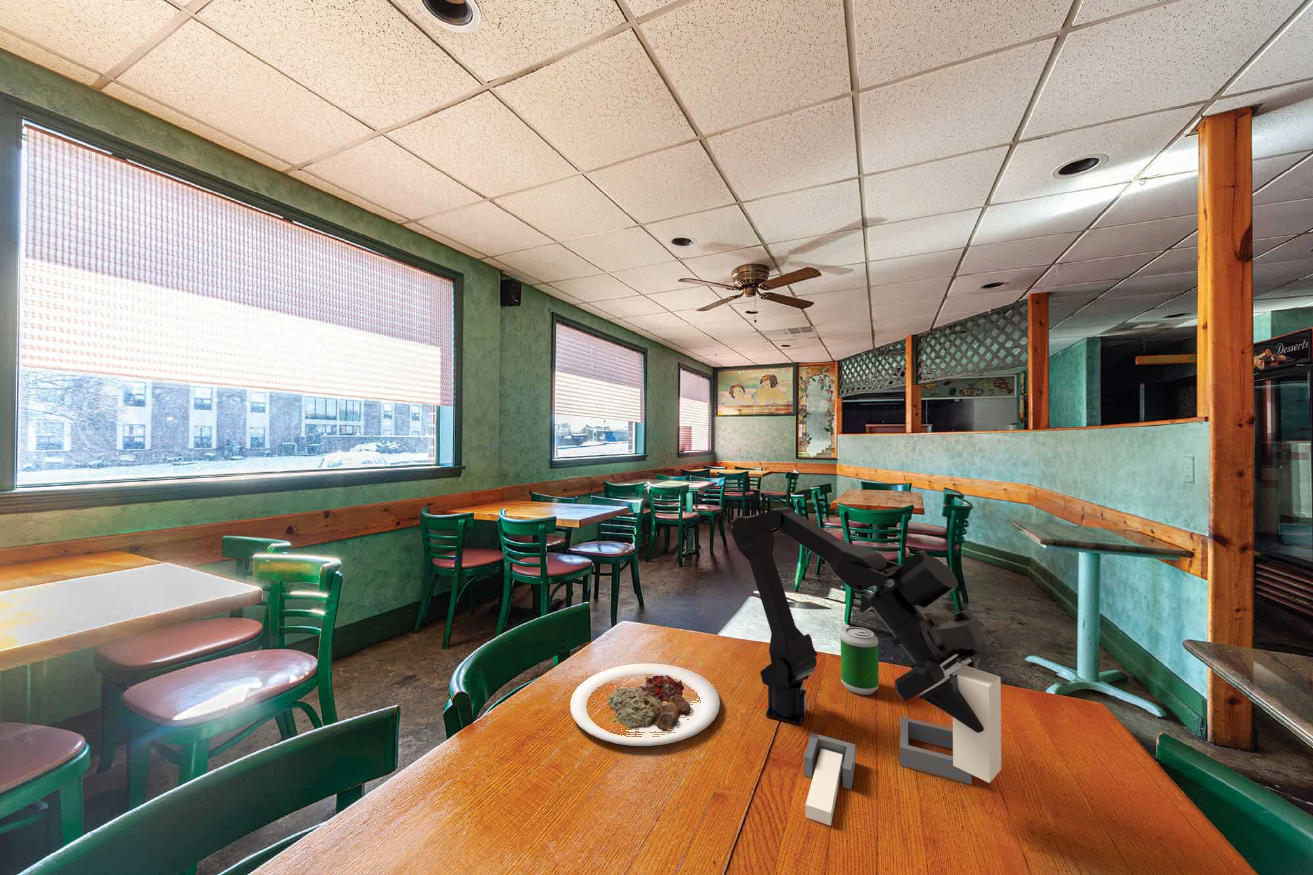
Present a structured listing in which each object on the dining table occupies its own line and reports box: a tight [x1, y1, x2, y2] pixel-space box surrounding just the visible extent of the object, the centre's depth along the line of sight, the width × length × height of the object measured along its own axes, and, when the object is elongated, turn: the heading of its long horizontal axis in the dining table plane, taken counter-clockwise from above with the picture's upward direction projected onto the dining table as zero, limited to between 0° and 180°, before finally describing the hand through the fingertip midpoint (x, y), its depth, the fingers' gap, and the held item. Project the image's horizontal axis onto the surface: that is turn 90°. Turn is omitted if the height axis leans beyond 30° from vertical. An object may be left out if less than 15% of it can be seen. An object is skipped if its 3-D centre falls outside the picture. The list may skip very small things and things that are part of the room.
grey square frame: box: [899, 716, 973, 786], centre depth 81 cm, size 10×10×3 cm
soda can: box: [840, 626, 880, 696], centre depth 104 cm, size 8×8×12 cm
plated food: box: [569, 663, 721, 747], centre depth 98 cm, size 30×30×3 cm
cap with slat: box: [803, 732, 856, 827], centre depth 74 cm, size 7×16×3 cm, turn 153°
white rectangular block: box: [952, 665, 1002, 784], centre depth 68 cm, size 4×4×13 cm
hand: (987, 725), depth 67 cm, fingers closed on white rectangular block, 4 cm apart
